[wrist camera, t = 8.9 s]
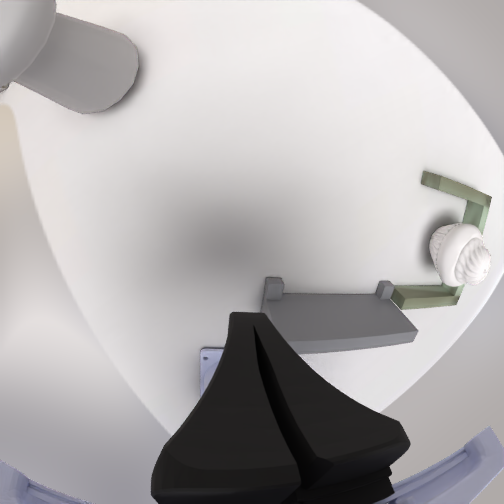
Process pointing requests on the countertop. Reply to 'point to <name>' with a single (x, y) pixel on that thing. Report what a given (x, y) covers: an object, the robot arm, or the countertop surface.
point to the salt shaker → (64, 56)
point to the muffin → (459, 254)
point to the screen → (336, 319)
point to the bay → (473, 215)
